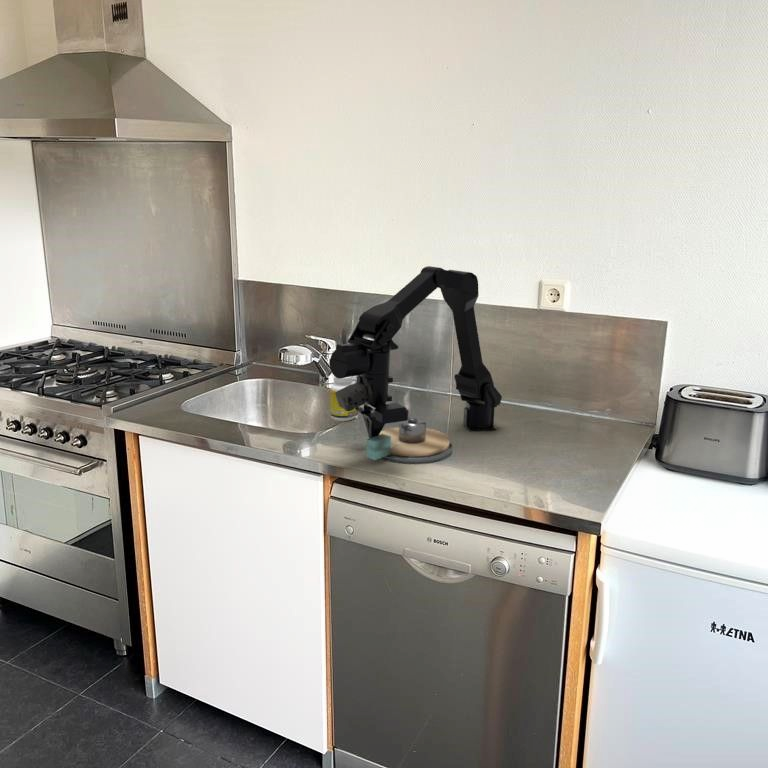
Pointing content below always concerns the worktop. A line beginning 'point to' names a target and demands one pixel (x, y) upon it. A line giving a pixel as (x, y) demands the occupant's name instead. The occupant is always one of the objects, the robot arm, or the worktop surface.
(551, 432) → the worktop surface
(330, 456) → the worktop surface
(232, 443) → the worktop surface
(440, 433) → the turntable
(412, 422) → the cover
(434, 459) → the base
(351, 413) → the pill bottle
